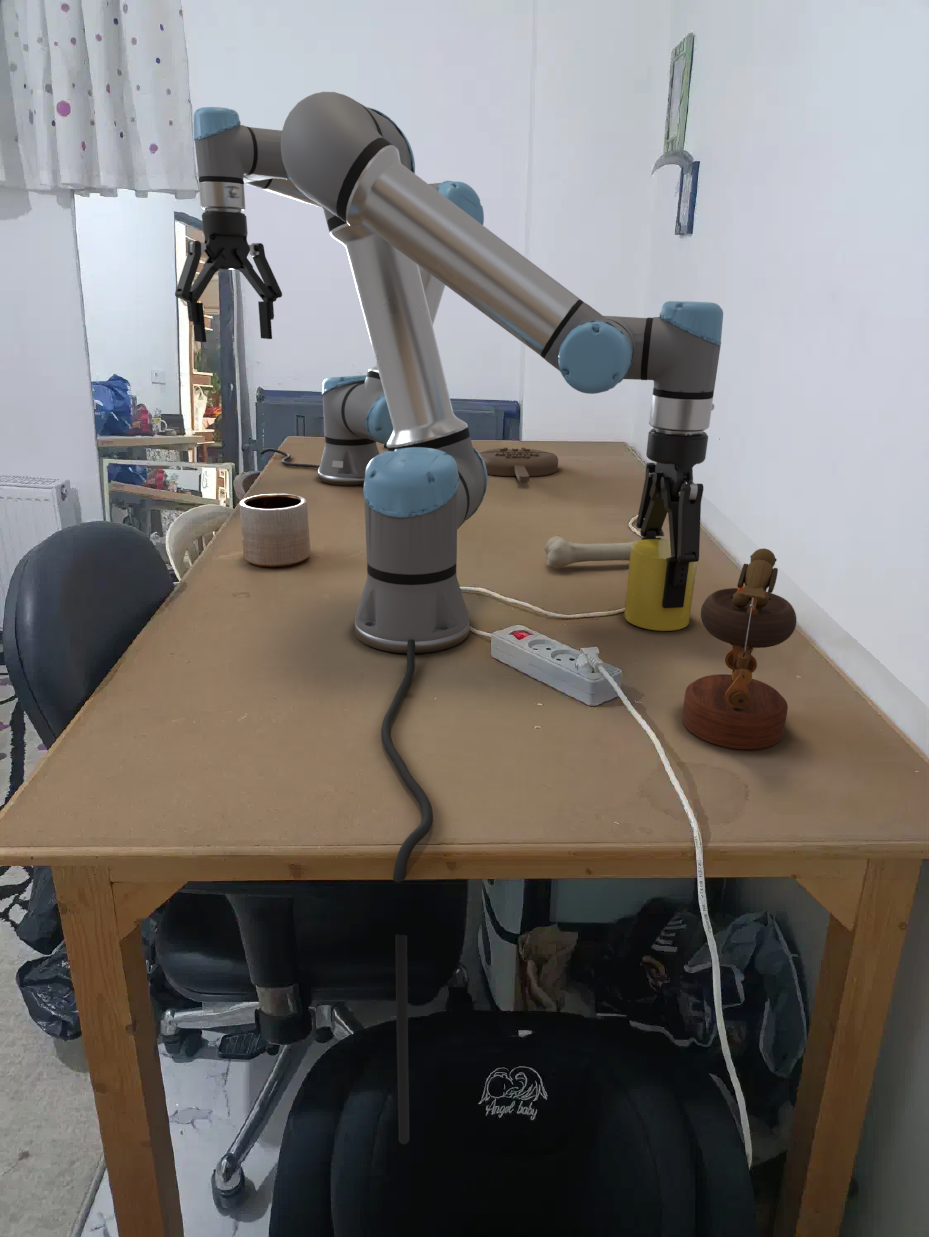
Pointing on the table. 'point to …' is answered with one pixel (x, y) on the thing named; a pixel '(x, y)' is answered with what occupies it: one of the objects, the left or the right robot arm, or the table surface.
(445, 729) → the table surface
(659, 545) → the canister
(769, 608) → the wooden figurine
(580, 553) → the dog toy
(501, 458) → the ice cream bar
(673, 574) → the right robot arm
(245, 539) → the planter
